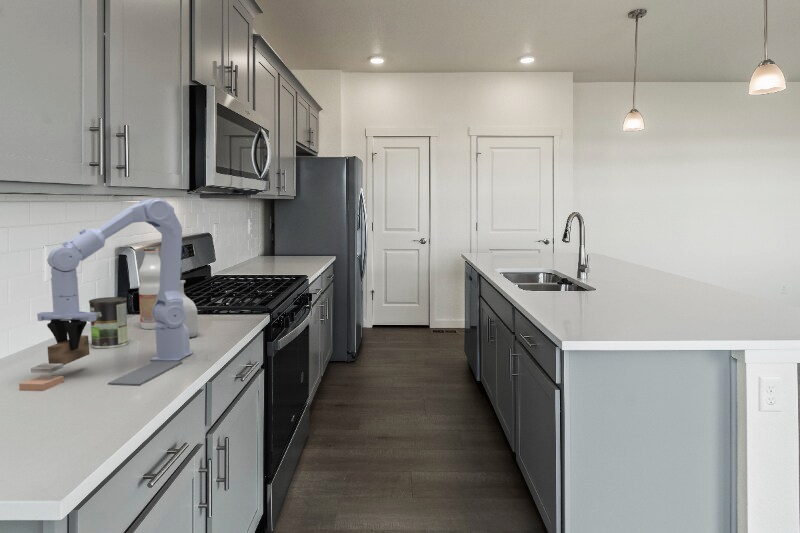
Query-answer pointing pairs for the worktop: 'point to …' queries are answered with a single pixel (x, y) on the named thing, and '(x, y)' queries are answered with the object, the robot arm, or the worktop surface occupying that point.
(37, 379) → the tile
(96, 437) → the worktop surface
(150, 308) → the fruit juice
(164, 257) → the robot arm
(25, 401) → the worktop surface
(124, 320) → the coffee can
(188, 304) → the soap bottle
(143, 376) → the mat
